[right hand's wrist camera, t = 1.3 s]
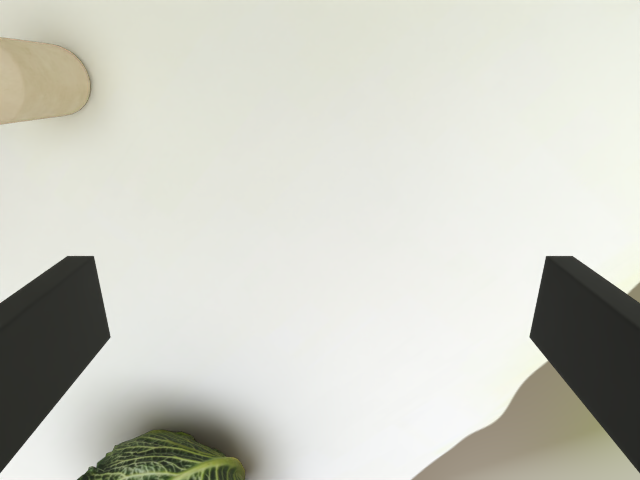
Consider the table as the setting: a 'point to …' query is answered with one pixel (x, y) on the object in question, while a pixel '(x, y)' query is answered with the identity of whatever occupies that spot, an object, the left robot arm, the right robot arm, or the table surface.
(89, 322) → the right robot arm
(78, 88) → the candle
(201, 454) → the vegetable
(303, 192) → the table surface
